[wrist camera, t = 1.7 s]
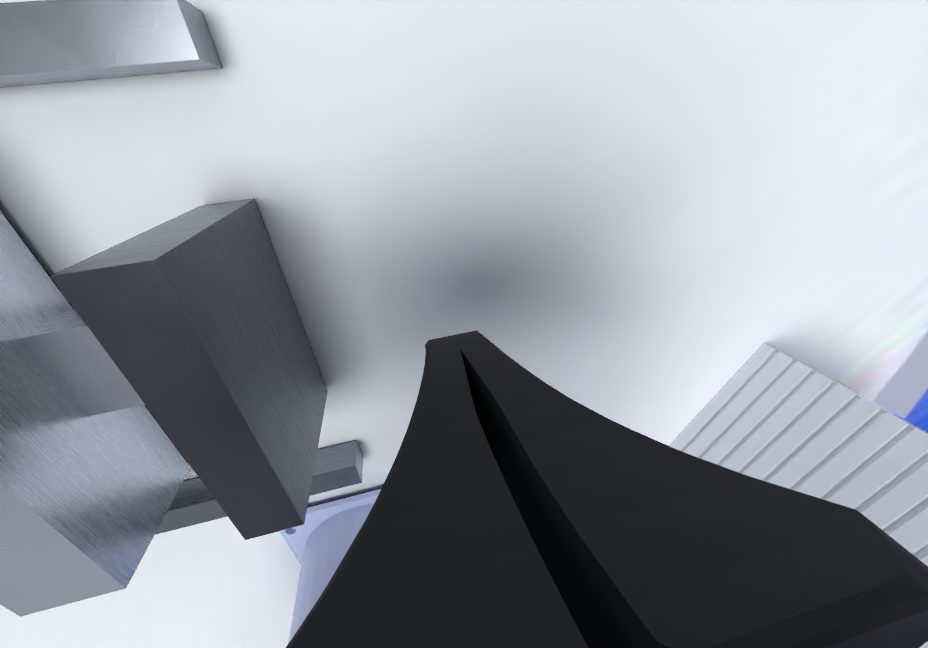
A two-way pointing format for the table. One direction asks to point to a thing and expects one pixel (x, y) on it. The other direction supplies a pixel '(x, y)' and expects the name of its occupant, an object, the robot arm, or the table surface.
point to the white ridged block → (817, 443)
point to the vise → (129, 54)
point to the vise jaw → (147, 399)
